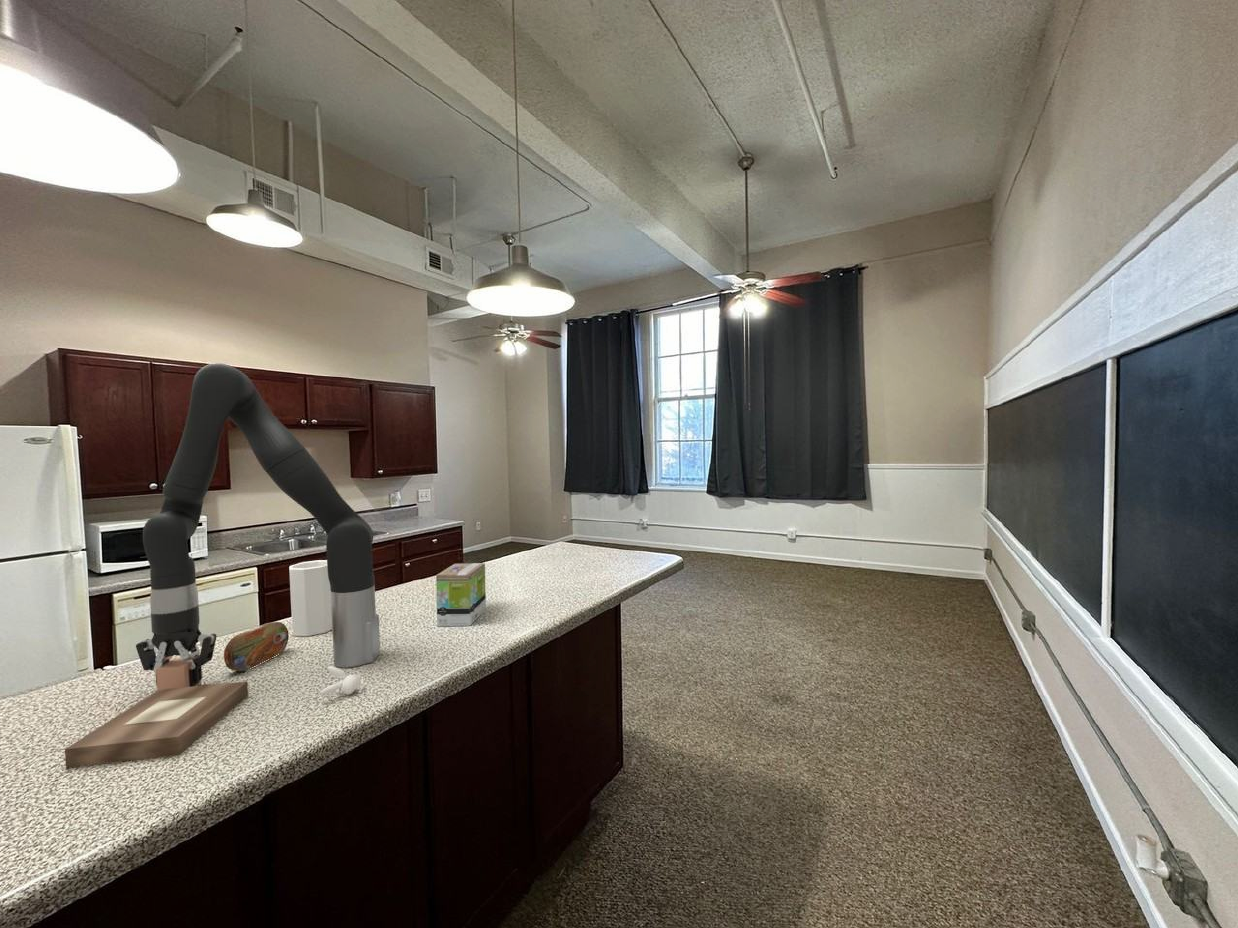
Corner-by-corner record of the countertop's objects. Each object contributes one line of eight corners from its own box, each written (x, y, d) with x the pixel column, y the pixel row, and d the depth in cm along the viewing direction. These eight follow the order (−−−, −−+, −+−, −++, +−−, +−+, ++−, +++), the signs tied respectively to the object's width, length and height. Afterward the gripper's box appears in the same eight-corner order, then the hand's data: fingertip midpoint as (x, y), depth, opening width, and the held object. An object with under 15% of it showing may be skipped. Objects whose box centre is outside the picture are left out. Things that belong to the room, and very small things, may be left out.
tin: (233, 677, 111) (231, 640, 111) (221, 676, 111) (219, 639, 111) (290, 650, 126) (289, 617, 125) (280, 649, 126) (278, 616, 126)
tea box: (472, 626, 139) (470, 573, 138) (436, 627, 139) (434, 574, 139) (487, 609, 154) (485, 561, 154) (454, 609, 154) (452, 562, 154)
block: (201, 683, 108) (199, 656, 108) (185, 694, 103) (183, 666, 103) (174, 686, 107) (173, 658, 107) (157, 697, 102) (156, 668, 102)
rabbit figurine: (362, 697, 100) (320, 688, 96) (355, 708, 101) (313, 699, 98) (370, 671, 105) (330, 661, 101) (362, 681, 106) (323, 672, 103)
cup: (345, 626, 142) (342, 561, 141) (303, 639, 132) (300, 570, 132) (325, 620, 148) (322, 558, 147) (283, 632, 138) (280, 566, 138)
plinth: (248, 695, 102) (247, 680, 102) (179, 754, 82) (178, 735, 82) (158, 704, 99) (158, 688, 99) (65, 767, 80) (64, 747, 79)
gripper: (224, 598, 109) (228, 675, 110) (149, 603, 107) (154, 681, 108) (201, 609, 102) (206, 691, 103) (121, 615, 100) (126, 698, 100)
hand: (179, 686), depth 105 cm, fingers closed on block, 5 cm apart
